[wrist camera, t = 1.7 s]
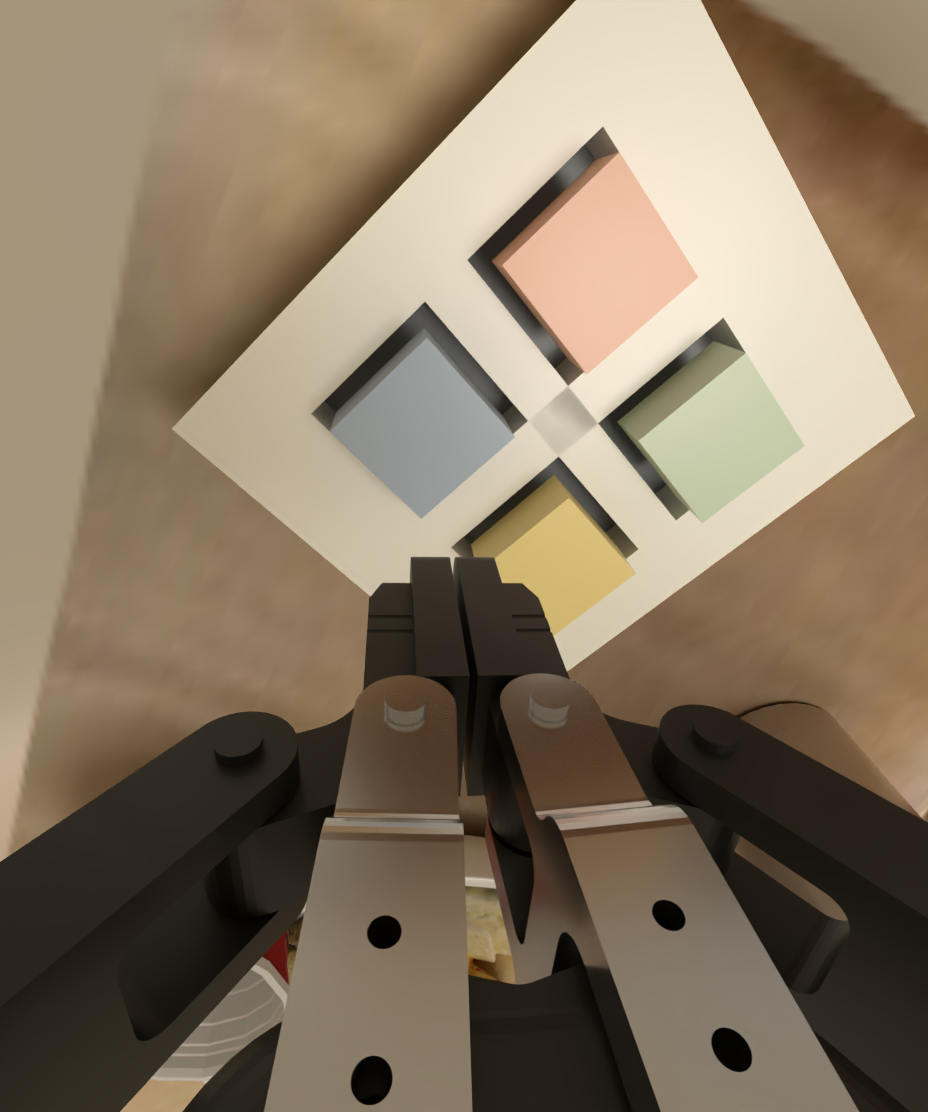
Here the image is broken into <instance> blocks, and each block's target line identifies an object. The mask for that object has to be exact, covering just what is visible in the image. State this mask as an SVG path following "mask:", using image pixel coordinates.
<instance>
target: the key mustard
mask: <svg viewBox="0 0 928 1112" xmlns="http://www.w3.org/2000/svg"><path fill="white" fill-rule="evenodd" d="M471 547H472V551H473V555H474V557H494V558H495V561H496V564H497V568H498V571H499V574H500V578H501V581H502V583H522V584H523V585H525V586H526V587H527V588H528V589H529V590H530V591H531V592H533V593H534V594H535V595H536V596H537V597H538V598H539V600H540V603H541V605H542V608H543V611H544V613H545V618H547V621H548V624H549V626H550V632H552V634H553V636H554V635H555V634H557V633H558V632H559V631H561V630H562V629H563V628H565V627H566V626H567V625H569V624H570V623H571V622H572V621H574V620H575V619H576V618H578V617H579V616H580V615H582V614H583V613H584V612H586V611H587V610H588V609H590V608H591V607H592V606H594V605H595V604H596V603H598V602H599V601H600V600H602V599H603V598H604V597H606V596H607V595H608V594H609V593H611V592H612V591H613V590H615V589H616V588H617V587H619V586H620V585H621V584H623V583H624V582H625V581H627V580H628V579H629V578H631V577H632V576H633V575H635V574H636V573H635V571H634V570H633V569H632V567H631V566H630V564H629V563H628V561H627V560H626V558H625V557H624V555H623V554H622V553H621V551H620V550H619V548H618V547H617V545H616V544H615V543H614V542H613V541H612V540H611V539H610V537H609V536H608V535H607V534H606V533H605V532H604V531H603V529H602V528H601V527H600V526H599V525H598V524H597V523H596V522H595V520H594V519H593V518H592V517H591V516H590V515H589V514H588V512H587V511H586V510H585V509H584V508H583V507H582V506H581V504H580V503H579V502H578V501H577V500H576V499H575V498H574V497H573V495H572V494H571V493H570V492H569V491H568V490H567V489H566V487H565V486H564V485H563V484H562V483H561V482H560V481H559V480H558V478H557V477H556V476H555V475H553V476H552V477H551V478H550V479H548V480H547V481H546V482H545V483H544V484H542V485H541V486H540V487H539V488H538V489H536V490H535V491H534V492H533V493H532V494H530V495H529V496H528V497H527V498H526V499H524V500H523V501H522V502H521V503H520V504H518V505H517V506H516V507H515V508H514V509H512V510H511V511H510V512H509V513H508V514H507V515H505V516H504V517H503V518H502V519H501V520H499V521H498V522H497V523H496V524H495V525H493V526H492V527H491V528H490V529H489V530H487V531H486V532H485V533H484V534H483V535H481V536H480V537H479V538H478V539H477V540H475V541H474V542H473V543H472V544H471Z"/></svg>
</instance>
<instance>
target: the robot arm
mask: <svg viewBox="0 0 928 1112" xmlns="http://www.w3.org/2000/svg"><path fill="white" fill-rule="evenodd" d="M463 763H464V771H465V779H466V786H467V794H468V796H477V795H485V798H486V805H487V811H488V814H487V823H486V832H485V840H486V846H487V850H488V855H489V859H490V864H491V868H492V872H493V877H494V881H495V885H496V890H497V894H498V898H499V903H500V907H501V911H502V916H503V920H504V924H505V929H506V933H507V938H508V942H509V946H510V951H511V955H512V960H513V967H514V975H515V984H510V983H506V982H501V981H496V980H491V979H486V978H482V977H477V976H472V975H468V954H467V921H466V889H465V857H464V831H463V821H462V819H459V796H460V790H461V777H462V765H463ZM306 902H307V903H306ZM305 905H306V908H305V913H304V918H303V923H302V928H301V933H300V937H299V942H298V947H297V952H296V957H295V962H294V967H293V972H292V977H291V982H290V986H289V991H288V996H287V1001H286V1006H285V1011H284V1016H283V1021H282V1022H280V1023H278V1024H277V1025H275V1026H274V1027H272V1028H270V1029H269V1030H267V1031H266V1032H264V1033H263V1034H261V1035H260V1036H258V1037H257V1038H255V1039H254V1040H253V1041H251V1042H250V1043H249V1044H248V1045H247V1046H245V1047H244V1048H243V1049H242V1050H240V1051H239V1052H238V1053H237V1054H236V1055H234V1056H233V1057H232V1058H231V1059H230V1060H229V1061H228V1062H227V1063H226V1064H225V1065H224V1066H223V1067H222V1068H221V1069H220V1070H219V1071H218V1072H217V1073H216V1074H215V1075H214V1076H213V1077H212V1078H211V1079H210V1080H209V1081H208V1082H207V1083H206V1084H205V1085H204V1086H203V1088H202V1089H201V1090H200V1091H199V1092H198V1093H197V1095H196V1096H195V1097H194V1098H193V1099H192V1101H191V1102H190V1103H189V1104H188V1106H187V1107H186V1108H185V1109H184V1111H183V1112H928V822H926V821H924V820H923V819H922V818H921V817H920V816H919V815H918V813H917V812H916V811H915V810H914V809H913V808H912V807H911V805H910V804H909V803H908V802H907V801H906V800H905V799H904V798H903V796H902V795H901V794H900V793H899V792H898V791H897V790H896V789H895V787H894V786H893V785H892V784H891V783H890V782H889V781H888V779H887V778H886V777H885V776H884V775H883V774H882V773H881V772H880V770H879V769H878V768H877V767H876V766H875V764H874V763H873V762H872V761H871V760H870V759H869V758H868V757H867V755H866V754H865V753H864V752H863V751H862V750H861V749H860V748H859V746H858V745H857V744H856V743H855V742H854V741H853V740H852V739H851V737H850V736H849V735H848V734H847V733H846V732H845V731H844V730H843V728H842V727H841V726H840V725H839V724H838V723H837V722H836V720H835V719H834V718H833V717H832V716H831V715H829V714H828V713H826V712H825V711H824V710H822V709H820V708H817V707H814V706H811V705H806V704H798V703H789V704H777V705H773V706H768V707H764V708H761V709H758V710H756V711H753V712H750V713H748V714H746V715H744V716H742V717H740V718H738V717H737V716H735V715H733V714H731V713H729V712H726V711H723V710H721V709H718V708H714V707H710V706H704V705H683V706H678V707H676V708H673V709H671V710H670V711H668V712H667V713H666V714H665V715H664V716H663V718H662V720H661V722H660V726H659V728H656V727H651V726H647V725H642V724H637V723H633V722H628V721H624V720H620V719H616V718H613V717H611V716H608V715H606V714H604V713H602V711H601V709H600V707H599V706H598V704H597V702H596V700H595V699H594V697H593V696H592V695H591V693H590V692H589V691H588V690H586V689H585V688H584V687H583V686H581V685H580V684H578V683H576V682H574V681H572V680H570V678H569V676H568V673H567V670H566V668H565V665H564V663H563V660H562V657H561V655H560V652H559V650H558V647H557V644H556V642H555V639H554V637H553V634H552V632H550V626H549V624H548V621H547V618H545V613H544V611H543V608H542V605H541V603H540V600H539V598H538V597H537V596H536V595H535V594H534V593H533V592H531V591H530V590H529V589H528V588H527V587H526V586H525V585H523V584H522V583H502V581H501V578H500V574H499V571H498V568H497V564H496V561H495V558H494V557H455V559H454V566H453V573H452V567H451V561H450V557H411V560H410V583H382V584H381V585H380V586H379V587H378V588H377V589H376V591H375V592H374V593H373V594H372V595H371V597H370V598H369V613H368V628H367V643H366V658H365V674H364V688H363V691H362V693H361V694H360V695H359V697H358V698H357V700H356V703H355V706H354V708H353V709H352V710H351V711H350V712H349V713H348V714H346V715H345V716H344V717H342V718H341V719H339V720H337V721H335V722H333V723H331V724H329V725H326V726H323V727H320V728H316V729H312V730H309V731H305V732H301V733H297V734H296V733H295V731H294V729H293V728H292V726H291V725H290V724H289V723H288V722H286V721H285V720H283V719H282V718H280V717H278V716H275V715H272V714H269V713H263V712H240V713H235V714H230V715H227V716H224V717H221V718H218V719H216V720H214V721H211V722H210V723H208V724H206V725H204V726H203V727H201V728H200V729H198V730H197V731H195V732H194V733H192V734H191V735H189V736H188V737H186V738H185V739H183V740H182V741H180V742H179V743H177V744H176V745H174V746H173V747H171V748H170V749H168V750H167V751H165V752H164V753H162V754H161V755H159V756H158V757H156V758H155V759H153V760H152V761H150V762H149V763H147V764H146V765H144V766H143V767H141V768H140V769H138V770H137V771H135V772H134V773H132V774H131V775H129V776H128V777H126V778H125V779H123V780H122V781H120V782H119V783H117V784H116V785H114V786H113V787H112V788H110V789H109V790H107V791H106V792H104V793H103V794H101V795H100V796H98V797H97V798H95V799H94V800H92V801H91V802H89V803H88V804H86V805H85V806H83V807H82V808H80V809H79V810H77V811H76V812H74V813H73V814H71V815H70V816H68V817H67V818H65V819H64V820H62V821H61V822H59V823H58V824H56V825H55V826H53V827H52V828H50V829H49V830H47V831H46V832H44V833H43V834H41V835H40V836H38V837H37V838H35V839H34V840H32V841H31V842H29V843H28V844H26V845H25V846H23V847H22V848H20V849H19V850H17V851H16V852H14V853H13V854H11V855H10V856H8V857H7V858H5V859H4V860H2V861H1V862H0V1112H120V1111H121V1110H122V1109H123V1108H124V1107H125V1106H126V1104H127V1103H128V1102H129V1101H130V1100H131V1099H132V1098H133V1097H134V1096H135V1095H136V1094H137V1092H138V1091H139V1090H140V1089H141V1088H142V1087H143V1086H144V1085H145V1084H146V1083H147V1082H148V1080H149V1079H150V1078H151V1077H152V1076H153V1075H154V1074H155V1073H156V1072H157V1071H158V1070H159V1068H160V1067H161V1066H162V1065H163V1064H164V1063H165V1062H166V1061H167V1060H168V1059H169V1058H170V1057H171V1055H172V1054H173V1053H174V1052H175V1051H176V1050H177V1049H178V1048H179V1047H180V1046H181V1045H182V1043H183V1042H184V1041H185V1040H186V1039H187V1038H188V1037H189V1036H190V1035H191V1034H192V1033H193V1031H194V1030H195V1029H196V1028H197V1027H198V1026H199V1025H200V1024H201V1023H202V1022H203V1021H204V1019H205V1018H206V1017H207V1016H208V1015H209V1014H210V1013H211V1012H212V1011H213V1010H214V1009H215V1008H216V1006H217V1005H218V1004H219V1003H220V1002H221V1001H222V1000H223V999H224V998H225V997H226V996H227V994H228V993H229V992H230V991H231V990H232V989H233V988H234V987H235V986H236V985H237V984H238V982H239V981H240V980H241V979H242V978H243V977H244V976H245V975H246V974H247V973H248V972H249V970H250V969H251V968H252V967H253V966H254V965H255V964H256V963H257V962H258V961H259V960H260V958H261V957H262V956H263V955H264V954H265V953H266V952H267V951H268V950H269V949H270V948H271V947H272V945H273V944H274V943H275V942H276V941H277V940H278V939H279V938H280V937H281V936H282V935H283V933H284V932H285V931H286V930H287V929H288V928H289V927H290V926H291V925H292V924H293V923H294V921H295V920H296V919H297V918H298V916H299V915H300V914H301V912H302V910H303V909H304V907H305Z"/></svg>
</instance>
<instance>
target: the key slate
mask: <svg viewBox="0 0 928 1112" xmlns="http://www.w3.org/2000/svg"><path fill="white" fill-rule="evenodd" d="M330 432H331V433H332V434H333V435H334V436H335V437H336V438H337V439H338V440H339V441H340V442H341V443H342V444H343V445H344V446H345V447H347V448H348V449H349V450H350V451H351V452H352V453H353V454H354V455H355V456H356V457H357V458H358V459H359V460H360V461H361V462H362V463H363V464H364V465H365V466H366V467H367V468H369V469H370V470H371V471H372V472H373V473H374V474H375V475H376V476H377V477H378V478H379V479H380V480H381V481H382V482H383V483H384V484H385V485H386V486H387V487H388V488H389V489H391V490H392V491H393V492H394V493H395V494H396V495H397V496H398V497H399V498H400V499H401V500H402V501H403V502H404V503H405V504H406V505H407V506H408V507H409V508H410V509H411V510H413V511H414V512H415V513H416V514H417V515H418V516H419V517H420V518H421V519H422V518H423V517H424V516H425V515H426V514H428V513H429V512H430V511H431V510H432V509H433V508H434V507H436V506H437V505H438V504H439V503H440V502H441V501H442V500H444V499H445V498H446V497H447V496H448V495H449V494H450V493H452V492H453V491H454V490H455V489H456V488H457V487H458V486H460V485H461V484H462V483H463V482H464V481H465V480H467V479H468V478H469V477H470V476H471V475H472V474H473V473H475V472H476V471H477V470H478V469H479V468H480V467H481V466H483V465H484V464H485V463H486V462H487V461H488V460H489V459H491V458H492V457H493V456H494V455H495V454H496V453H497V452H499V451H500V450H501V449H502V448H503V447H504V446H506V445H507V444H508V443H509V442H510V441H511V440H512V439H514V438H515V436H514V434H513V432H512V431H511V429H510V427H509V425H508V424H507V422H506V420H505V418H504V417H503V416H502V415H501V414H500V412H499V411H498V410H497V409H496V408H495V407H494V406H493V405H492V403H491V402H490V401H489V400H488V399H487V398H486V397H485V395H484V394H483V393H482V392H481V391H480V390H479V389H478V388H477V386H476V385H475V384H474V383H473V382H472V381H471V380H470V378H469V377H468V376H467V375H466V374H465V373H464V372H463V370H462V369H461V368H460V367H459V366H458V365H457V364H456V363H455V361H454V360H453V359H452V358H451V357H450V356H449V355H448V353H447V352H446V351H445V350H444V349H443V348H442V347H441V345H440V344H439V343H438V342H437V341H436V340H435V339H434V338H433V336H432V335H431V334H430V333H429V332H428V331H427V330H426V328H425V327H423V328H422V329H421V330H420V331H419V332H418V333H417V334H416V335H415V336H414V337H413V338H412V339H411V340H410V341H409V342H408V343H407V344H406V345H405V346H404V347H403V348H401V349H400V350H399V351H398V352H397V353H396V354H395V355H394V356H393V357H392V358H391V359H390V360H389V361H388V362H387V363H386V364H385V365H384V366H383V367H382V368H381V369H380V370H379V371H378V372H377V373H376V374H375V375H374V376H373V377H372V378H371V379H370V380H369V381H368V382H367V383H365V384H364V385H363V386H362V387H361V388H360V389H359V390H358V391H357V392H356V393H355V394H354V395H353V396H352V397H351V398H350V399H349V400H348V401H347V402H346V403H345V404H344V405H343V406H342V407H341V408H340V409H339V410H338V411H337V412H336V413H335V416H334V420H333V423H332V426H331V429H330Z"/></svg>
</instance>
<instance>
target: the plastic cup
mask: <svg viewBox="0 0 928 1112" xmlns="http://www.w3.org/2000/svg"><path fill="white" fill-rule="evenodd" d="M287 960H288V950H287V940H286V931H285V932H284V933H283V935H282V936H281V937H280V938H279V939H278V940H277V941H276V942H275V943H274V944H273V945H272V947H271V948H270V949H269V950H268V951H267V952H266V953H265V954H264V955H263V956H262V957H261V958H260V960H259V961H258V962H257V963H256V964H255V965H254V966H253V967H252V968H251V969H250V970H249V972H248V973H247V974H246V975H245V976H244V977H243V978H242V979H241V980H240V981H239V982H238V984H237V985H236V986H235V987H234V988H233V989H232V990H231V991H230V992H229V993H228V994H227V996H226V997H225V998H224V999H223V1000H222V1001H221V1002H220V1003H219V1004H218V1005H217V1006H216V1008H215V1009H214V1010H213V1011H212V1012H211V1013H210V1014H209V1015H208V1016H207V1017H206V1018H205V1019H204V1021H203V1022H202V1023H201V1024H200V1025H199V1026H198V1027H197V1028H196V1029H195V1030H194V1031H193V1033H192V1034H191V1035H190V1036H189V1037H188V1038H187V1039H186V1040H185V1041H184V1042H183V1043H182V1045H181V1046H180V1047H179V1048H178V1049H177V1050H176V1051H175V1052H174V1053H173V1054H172V1055H171V1057H170V1058H169V1059H168V1060H167V1061H166V1062H165V1063H164V1064H163V1065H162V1066H161V1067H160V1068H159V1070H158V1071H157V1072H156V1073H155V1074H154V1075H153V1076H152V1077H151V1078H150V1079H152V1080H157V1081H208V1080H210V1079H211V1078H212V1077H213V1076H214V1075H215V1074H216V1073H217V1072H218V1071H219V1070H220V1069H221V1068H222V1067H223V1066H224V1065H225V1064H226V1063H227V1062H228V1061H229V1060H230V1059H231V1058H232V1057H233V1056H234V1055H236V1054H237V1053H238V1052H239V1051H240V1050H242V1049H243V1048H244V1047H245V1046H247V1045H248V1044H249V1043H250V1042H251V1041H253V1040H254V1039H255V1038H257V1037H258V1036H260V1035H261V1034H263V1033H264V1032H266V1031H267V1030H269V1029H270V1028H272V1027H274V1026H275V1025H277V1024H278V1023H280V1022H282V1021H283V1016H284V1011H285V1006H286V1001H287V996H288V991H289V985H288V981H289V977H288V967H287Z"/></svg>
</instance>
